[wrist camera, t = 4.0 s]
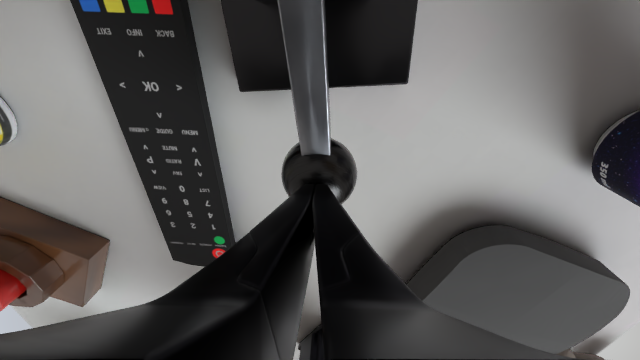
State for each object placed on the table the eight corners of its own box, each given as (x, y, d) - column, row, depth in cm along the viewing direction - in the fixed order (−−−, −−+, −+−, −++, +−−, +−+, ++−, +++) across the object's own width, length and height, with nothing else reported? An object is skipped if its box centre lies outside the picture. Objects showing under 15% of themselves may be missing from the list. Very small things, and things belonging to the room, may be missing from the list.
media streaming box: (472, 207, 18) (495, 237, 15) (625, 267, 20) (669, 302, 17) (374, 313, 25) (379, 346, 22) (494, 349, 27) (511, 383, 24)
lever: (353, 174, 13) (357, 226, 10) (292, 175, 13) (283, 226, 11) (374, -334, 4) (421, -649, 2) (194, -302, 4) (47, -546, 2)
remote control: (160, -175, 10) (136, -204, 8) (241, 256, 22) (236, 268, 21) (30, -176, 10) (-12, -205, 9) (183, 252, 22) (174, 264, 21)
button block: (110, 240, 22) (68, 278, 18) (101, 287, 25) (64, 326, 22) (-20, 188, 20) (-96, 221, 16) (-10, 248, 23) (-69, 285, 20)
